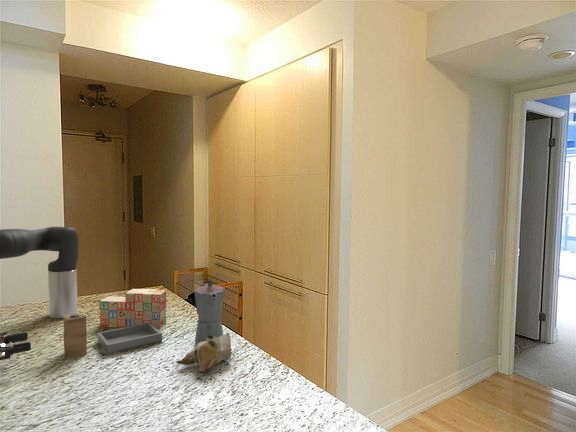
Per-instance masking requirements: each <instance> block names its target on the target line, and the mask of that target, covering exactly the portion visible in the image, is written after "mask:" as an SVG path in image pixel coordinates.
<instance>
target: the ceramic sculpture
mask: <svg viewBox="0 0 576 432" xmlns="http://www.w3.org/2000/svg"><path fill="white" fill-rule="evenodd" d="M231 357H232V345H231V335H230V333H229V332H227V333H225V334H223V335H222V336H219V337H218V338H217V337H215V336H212V335H211V336H208V337H207V339H206V340H203V341H201V342H199V343H198V344H197V345H196V344H195V346H194V349H193V350H191V351H189V353H187V354H186V355H185V356H184V357H182V359H180V360H176V362H175V363H176V364H178V365H182V366H183V365H184V366H190V365H194V364H196V366H198V371H197V374H198V375H199V374H200V375H201V374H207V373H210V372H211V371H212V370H213V369H214V367H215V366H216V365H217V364H218V363H220V362H222V361H225V362H227V361H229V360H231Z"/></svg>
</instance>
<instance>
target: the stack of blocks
mask: <svg viewBox="0 0 576 432" xmlns="http://www.w3.org/2000/svg"><path fill="white" fill-rule="evenodd" d="M144 323H150V324H151V325H152V326H154V327H155V328H156V329H157V330H159V329H162V328H163V326H164V325H166V323H167V289H156V288H131V289H129V290H128V291H126V292H125V296H112V295H111V296H110V295H108V296H106V297H104V298H103V299H101V300H99V327H102V328H103V327H109V328H124V327H129V326H134V325H139V324H144Z"/></svg>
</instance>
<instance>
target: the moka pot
mask: <svg viewBox="0 0 576 432" xmlns="http://www.w3.org/2000/svg"><path fill="white" fill-rule="evenodd" d="M225 293H226V288H225V287H223V286H220V285H213V280H208V281H204V283H203V285H202V286H199V287H196V289H194V299H195V308H196V314H197V319H198V320H197V322H196V323H197V325H196V331H195V332H196V333H195V337H194V338H195V339H194V343H195V346H196V345H197V344H198V343H199V342H201V341H203V340H206V339H207V337H208V336H211V335H212V336H215V337H217V338H218V337H219V336H222V335H224V329H223V324H222V313H223V312H222V311H223V306H224V301H225V295H226V294H225Z"/></svg>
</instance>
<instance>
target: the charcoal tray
mask: <svg viewBox="0 0 576 432" xmlns="http://www.w3.org/2000/svg"><path fill="white" fill-rule="evenodd" d="M96 339H97V344H98V343H99V344H98V345H99V346H100V348H101V349H102V351H103V352H104V353H105V354H106V355H107V356H111V355H116V354H119V352H120V353H124V352H127V351H128V350H129V351H133V350H137V349H140V348H141V349H142V348H145V347H149V346H154V345H158V344H163V333H162V332H161V331H160V330H159V329H156V328H155V327H154V326H152V325H151V324H150V323H144V324H139V325H134V326H129V327H118V328H114V329H111V330H110V329H109V330H104V331H100V332H97V338H96ZM132 349H133V350H132Z"/></svg>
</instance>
